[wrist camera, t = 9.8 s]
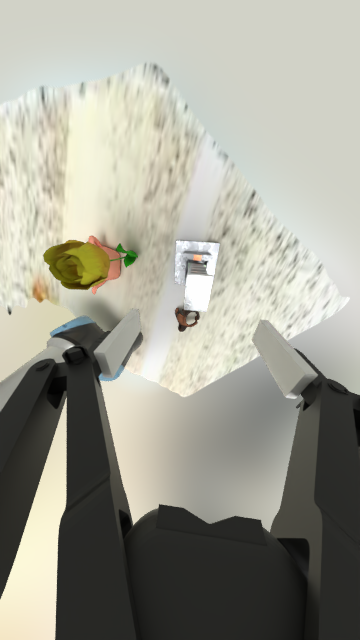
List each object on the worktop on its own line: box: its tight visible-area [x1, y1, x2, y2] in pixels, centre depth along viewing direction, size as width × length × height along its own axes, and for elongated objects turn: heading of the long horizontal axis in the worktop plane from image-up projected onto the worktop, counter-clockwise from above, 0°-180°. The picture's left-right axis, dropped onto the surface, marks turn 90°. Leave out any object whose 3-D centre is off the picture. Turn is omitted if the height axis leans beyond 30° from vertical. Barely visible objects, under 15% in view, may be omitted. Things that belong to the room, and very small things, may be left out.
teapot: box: [89, 236, 120, 294], centre depth 46 cm, size 12×18×10 cm, turn 166°
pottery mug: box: [175, 308, 200, 332], centre depth 57 cm, size 12×9×8 cm
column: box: [184, 262, 213, 312], centre depth 30 cm, size 4×6×21 cm
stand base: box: [175, 240, 220, 287], centre depth 42 cm, size 14×14×12 cm
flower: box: [43, 240, 138, 290], centre depth 35 cm, size 9×8×30 cm
